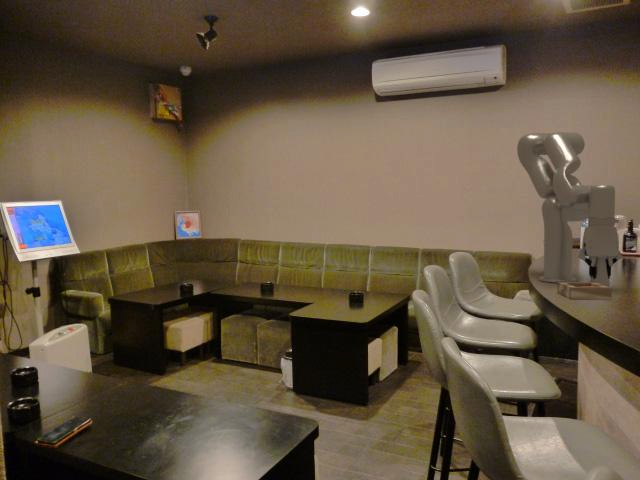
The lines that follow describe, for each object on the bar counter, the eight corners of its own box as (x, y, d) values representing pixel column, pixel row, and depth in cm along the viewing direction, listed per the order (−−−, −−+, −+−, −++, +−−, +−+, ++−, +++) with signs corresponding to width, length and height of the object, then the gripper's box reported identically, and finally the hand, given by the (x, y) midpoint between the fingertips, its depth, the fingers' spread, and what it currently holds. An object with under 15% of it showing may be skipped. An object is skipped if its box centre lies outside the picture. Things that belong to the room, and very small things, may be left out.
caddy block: (557, 292, 164) (557, 281, 164) (594, 292, 163) (594, 281, 163) (571, 299, 153) (572, 287, 153) (611, 299, 152) (611, 287, 151)
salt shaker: (604, 289, 171) (605, 250, 170) (612, 291, 165) (614, 252, 164) (586, 288, 171) (587, 250, 170) (594, 291, 165) (595, 252, 165)
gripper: (622, 222, 169) (620, 276, 171) (570, 222, 171) (569, 276, 172) (633, 222, 162) (632, 279, 163) (579, 223, 164) (578, 279, 165)
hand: (599, 277), depth 168 cm, fingers open, 3 cm apart
